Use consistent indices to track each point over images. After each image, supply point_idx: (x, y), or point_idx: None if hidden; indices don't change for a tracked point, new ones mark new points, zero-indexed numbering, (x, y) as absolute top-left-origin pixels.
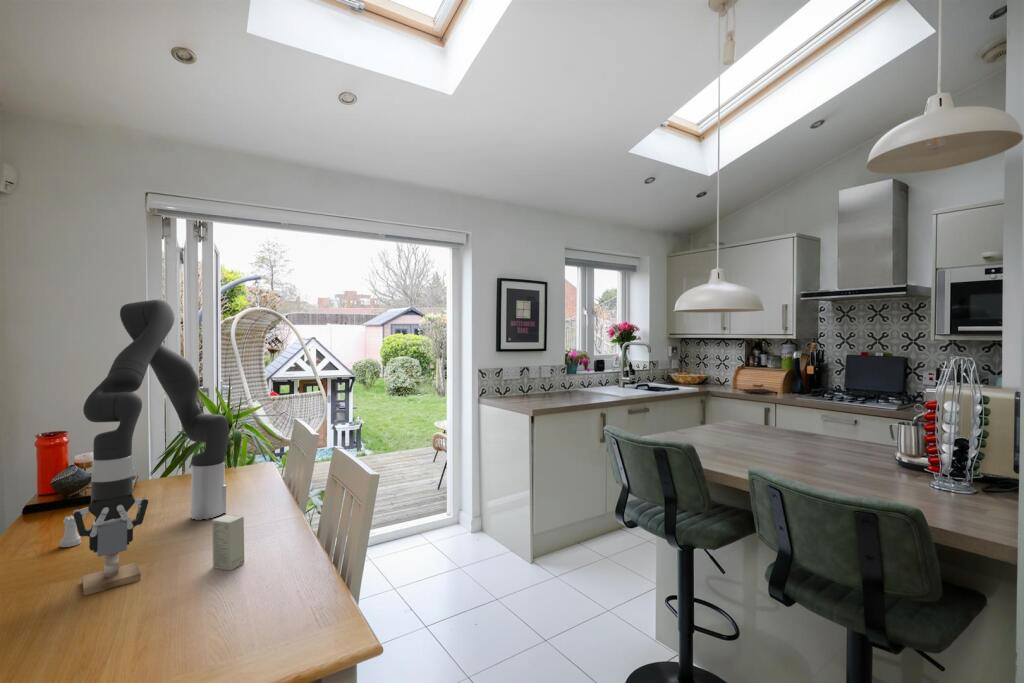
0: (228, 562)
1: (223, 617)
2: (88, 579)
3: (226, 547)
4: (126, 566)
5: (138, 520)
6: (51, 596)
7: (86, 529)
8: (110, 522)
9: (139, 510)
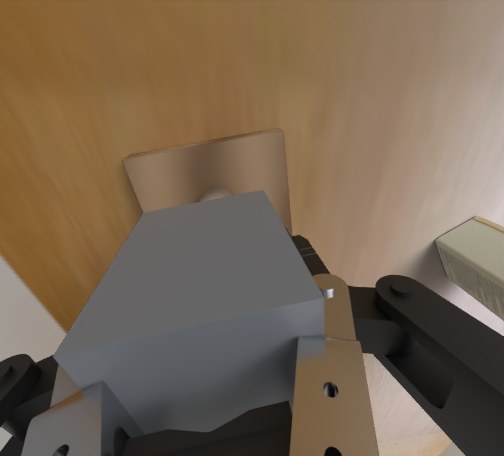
0: (463, 288)
1: (370, 399)
2: (156, 206)
3: (500, 313)
4: (255, 155)
5: (393, 364)
6: (75, 214)
7: (41, 411)
8: (210, 399)
9: (478, 454)
